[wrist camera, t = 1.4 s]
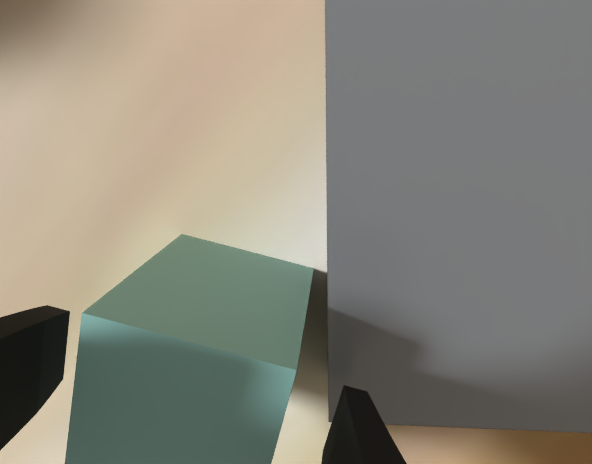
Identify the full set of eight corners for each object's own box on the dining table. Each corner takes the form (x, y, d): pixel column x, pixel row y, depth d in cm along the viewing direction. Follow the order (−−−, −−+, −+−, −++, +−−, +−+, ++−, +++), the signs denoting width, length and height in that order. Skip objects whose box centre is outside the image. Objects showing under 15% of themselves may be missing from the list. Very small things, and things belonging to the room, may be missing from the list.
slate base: (704, 385, 14) (777, 440, 12) (330, 373, 16) (328, 422, 13) (806, -33, 11) (931, -71, 9) (328, -8, 12) (324, -35, 10)
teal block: (283, 383, 16) (250, 537, 10) (161, 350, 16) (62, 485, 10) (313, 268, 15) (296, 370, 9) (182, 233, 15) (82, 312, 9)
